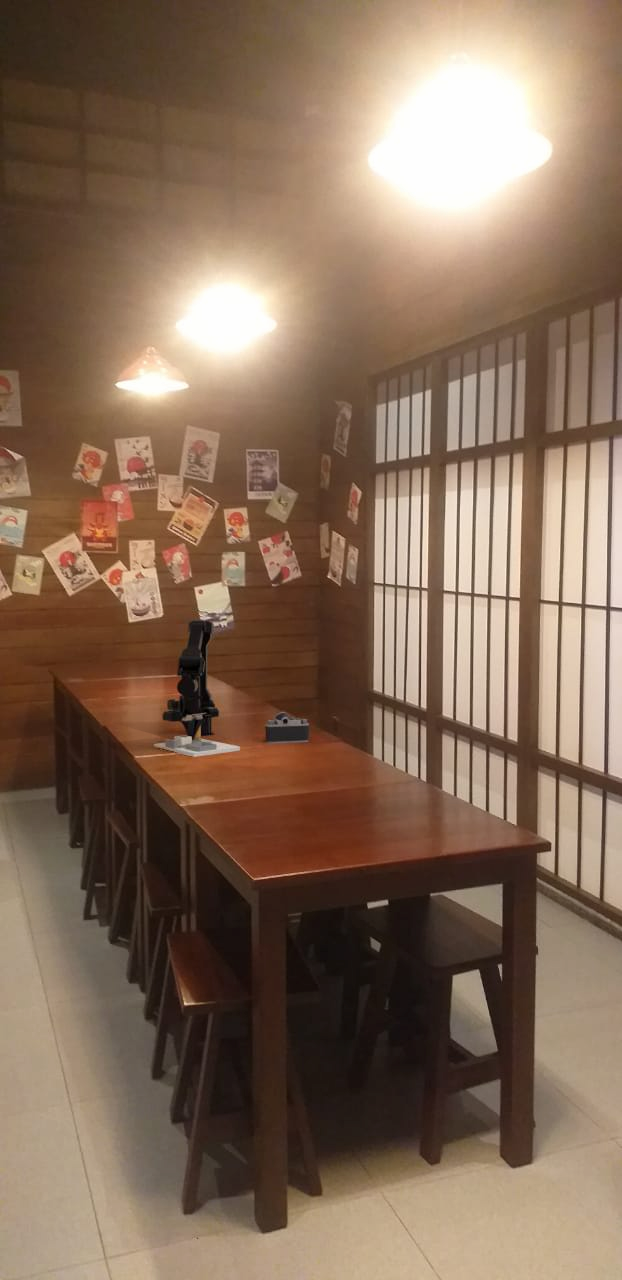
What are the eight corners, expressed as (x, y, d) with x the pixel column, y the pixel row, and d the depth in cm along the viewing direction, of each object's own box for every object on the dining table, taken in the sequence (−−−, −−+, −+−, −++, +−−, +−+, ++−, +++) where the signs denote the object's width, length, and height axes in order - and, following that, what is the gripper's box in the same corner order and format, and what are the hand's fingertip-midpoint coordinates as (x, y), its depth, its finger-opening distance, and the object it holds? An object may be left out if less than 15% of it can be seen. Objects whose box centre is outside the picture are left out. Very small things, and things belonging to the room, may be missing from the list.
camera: (305, 738, 340) (305, 709, 339) (310, 742, 331) (311, 712, 331) (261, 739, 336) (261, 710, 335) (265, 743, 328) (265, 714, 327)
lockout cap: (196, 739, 329) (196, 721, 328) (204, 740, 325) (204, 722, 325) (184, 740, 326) (184, 722, 325) (193, 742, 322) (193, 724, 322)
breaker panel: (199, 741, 330) (199, 731, 330) (239, 750, 314) (239, 739, 314) (154, 747, 318) (154, 736, 318) (194, 757, 302) (194, 745, 302)
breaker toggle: (184, 744, 318) (184, 734, 318) (191, 745, 315) (191, 735, 315) (174, 745, 315) (174, 735, 315) (181, 747, 312) (181, 737, 312)
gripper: (199, 688, 328) (199, 734, 329) (152, 692, 316) (152, 740, 317) (220, 691, 320) (220, 738, 321) (172, 695, 307) (172, 745, 308)
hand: (191, 740), depth 317 cm, fingers closed
